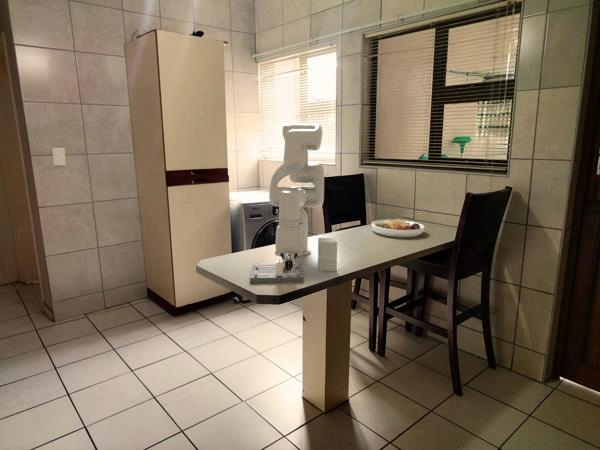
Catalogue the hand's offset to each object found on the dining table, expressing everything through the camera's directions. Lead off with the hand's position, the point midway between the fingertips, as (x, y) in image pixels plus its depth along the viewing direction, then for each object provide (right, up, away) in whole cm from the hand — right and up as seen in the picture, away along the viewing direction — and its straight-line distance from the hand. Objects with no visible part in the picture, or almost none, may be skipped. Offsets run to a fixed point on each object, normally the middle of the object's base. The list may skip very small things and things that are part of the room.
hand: (288, 269), depth 154 cm
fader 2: (-2, 0, +9) cm, 9 cm away
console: (-5, -3, +5) cm, 7 cm away
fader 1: (-4, -1, 0) cm, 4 cm away
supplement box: (+16, -1, +14) cm, 21 cm away
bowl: (+61, +12, +82) cm, 103 cm away
